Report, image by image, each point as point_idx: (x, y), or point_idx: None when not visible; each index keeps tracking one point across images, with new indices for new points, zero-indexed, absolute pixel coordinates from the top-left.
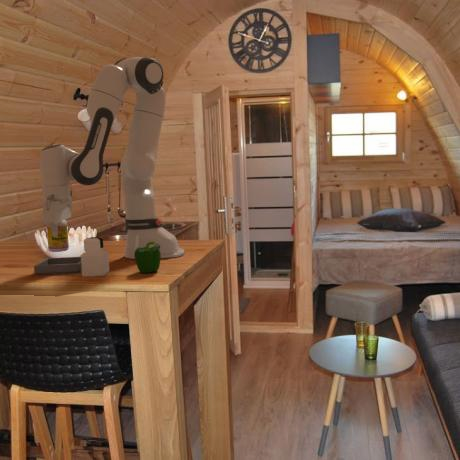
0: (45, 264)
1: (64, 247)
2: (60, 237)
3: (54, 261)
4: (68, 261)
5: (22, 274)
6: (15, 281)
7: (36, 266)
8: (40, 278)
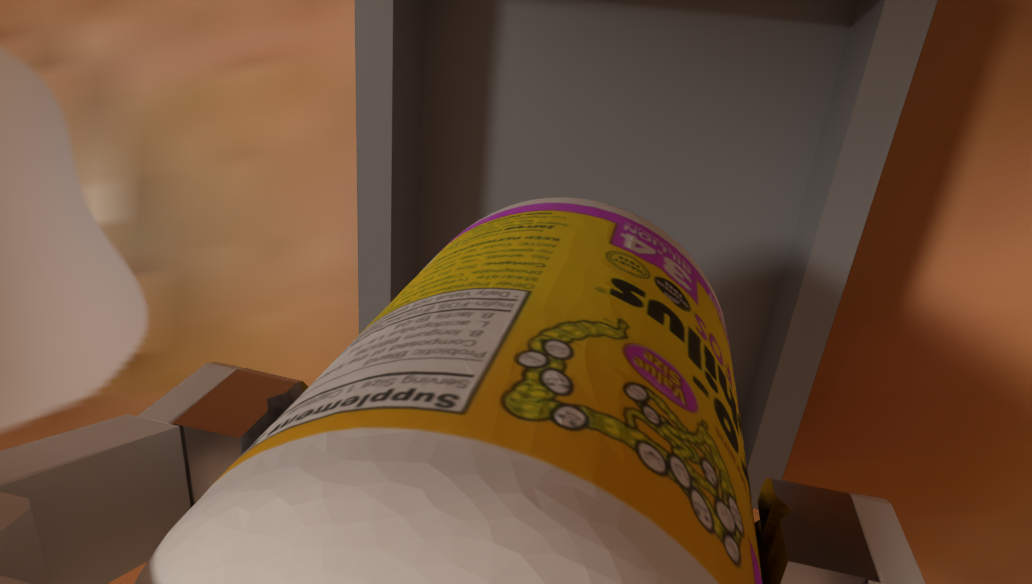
0: None
1: (686, 259)
2: (736, 413)
3: None
4: (409, 184)
5: None
6: (998, 575)
7: None
8: (988, 385)
